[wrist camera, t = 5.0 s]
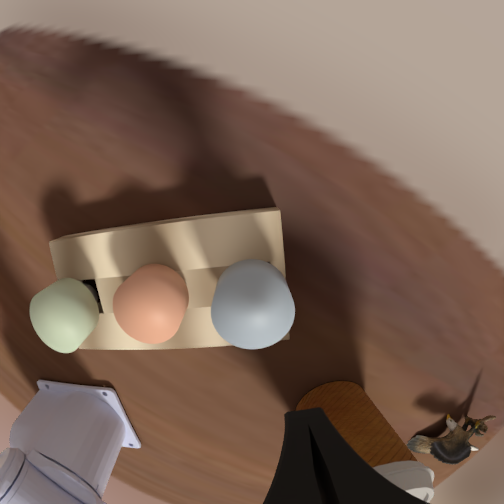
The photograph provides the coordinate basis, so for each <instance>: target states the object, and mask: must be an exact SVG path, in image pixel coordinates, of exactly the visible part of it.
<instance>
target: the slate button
mask: <svg viewBox="0 0 504 504" xmlns="http://www.w3.org/2000/svg"><path fill="white" fill-rule="evenodd" d="M294 317H295V305H294V301H293V298H292V296H291V293H290V290H289V288H288V285H287V282H286V280H285V278H284V276H283V275H282V273H281V272H280V271H279V270H278V269H277V268H276V267H275V266H273V265H272V264H270V263H268V262H266V261H263V260H258V259H247V260H242V261H238V262H236V263H234V264H232V265H231V266H229V267H228V268H227V269H226V270H225V271H224V272H223V273H222V275H221V276H220V278H219V280H218V282H217V285H216V289H215V293H214V297H213V301H212V305H211V319H212V323H213V325H214V327H215V329H216V331H217V332H218V334H219V335H220V336H221V337H222V338H223V339H224V340H226V341H227V342H229V343H230V344H232V345H234V346H237V347H240V348H244V349H261V348H265V347H268V346H271V345H273V344H275V343H277V342H278V341H279V340H281V339H282V338H283V337H284V336H285V335H286V334H287V333H288V331H289V330H290V328H291V326H292V324H293V321H294Z"/></svg>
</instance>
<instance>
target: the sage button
mask: <svg viewBox="0 0 504 504" xmlns="http://www.w3.org/2000/svg"><path fill="white" fill-rule="evenodd" d="M97 302H98V295H97V292H96V290H95V289H94V288H93V287H92V286H91V285H90V284H87V283H81V282H80V281H78V280H76V279H73V278H62V279H59V280H58V281H56V282H54V283H53V284H51V285H50V286H48V287H47V288H45V289H44V290H42V291H41V292H39V293H37V294H36V295H35V296H34V297H33V298H32V300H31V303H30V318H31V322H32V325H33V327H34V329H35V331H36V333H37V334H38V336H39V337H40V338H41V340H42V341H43V342H44V343H45V344H46V345H48V346H49V347H50V348H52V349H54V350H56V351H58V352H61V353H71V352H73V351H75V350H76V349H77V348H78V347H79V346H80V345H81V344H82V342H83V341H84V340H85V339H86V338H87V337H88V336H89V334H90V333H91V332H92V331H93V330H94V329H95V328H96V326H97V324H98V321H99V309H98V305H97Z"/></svg>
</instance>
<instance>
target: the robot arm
mask: <svg viewBox="0 0 504 504" xmlns="http://www.w3.org/2000/svg"><path fill="white" fill-rule="evenodd" d="M37 385H38V387H39V389H40V390H39V391H38V392H37V394H36V395H35V396H34V397H33V399H32V400H31V401H30V402H29V404H28V405H27V406H26V407H25V409H24V410H23V411H22V413H21V414H20V415H19V416H18V418H17V419H16V420H15V422H14V423H13V425H12V428H11V431H10V447H11V448H6V449H5V450H4V451H3V452H1V453H0V504H106V503H105V502H103V501H102V500H101V499H102V496H103V493H104V491H105V488H106V485H107V482H108V480H109V477H110V475H111V472H112V469H113V467H114V464H115V462H116V459H117V456H118V454H119V451H120V449H121V446H123V447H130V448H140V447H141V443H140V441H139V439H138V437H137V435H136V433H135V431H134V429H133V428H132V426H131V424H130V422H129V420H128V418H127V415H126V413H125V411H124V409H123V407H122V405H121V403H120V401H119V398H118V396H117V394H116V392H115V390H113V389H112V388H107V387H95V386H85V385H76V384H67V383H60V382H53V381H46V380H38V381H37ZM105 392H106V393H105ZM284 417H285V433H284V441H283V446H282V451H281V456H280V459H279V463H278V466H277V469H276V473H275V476H274V479H273V481H272V484H271V487H270V489H269V491H268V494H267V496H266V498H265V500H264V502H263V504H430V503H427V502H425V501H423V500H421V499H419V498H417V497H415V496H413V495H411V494H410V493H408V492H406V491H405V490H403V489H401V488H400V487H398V486H396V485H395V484H393V483H392V482H390V481H389V480H388V479H386V478H385V477H383V476H382V475H381V474H380V473H378V472H377V471H376V470H375V469H373V468H372V467H371V466H370V465H369V464H368V463H367V462H366V461H365V460H364V459H362V458H361V457H360V456H359V455H358V454H357V453H356V452H355V450H354V449H353V448H352V447H351V446H350V445H349V444H348V443H347V442H346V440H345V439H344V438H343V437H342V436H341V435H340V433H339V432H338V431H337V429H336V428H335V427H334V425H333V424H332V423H331V421H330V420H329V418H328V417H327V415H326V414H325V412H324V410H323V409H322V408H321V407H317V408H311V409H305V410H298V411H291V412H287V413H285V414H284Z"/></svg>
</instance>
